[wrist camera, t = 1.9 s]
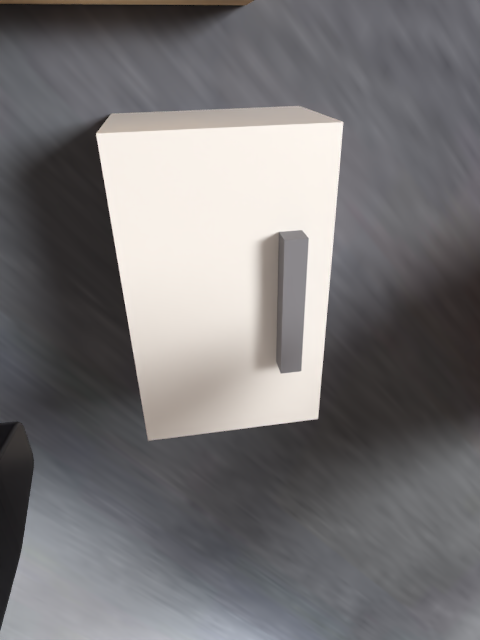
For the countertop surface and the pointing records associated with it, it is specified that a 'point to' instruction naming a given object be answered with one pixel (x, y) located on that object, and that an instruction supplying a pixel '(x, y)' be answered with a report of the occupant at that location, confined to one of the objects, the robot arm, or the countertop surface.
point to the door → (224, 260)
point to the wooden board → (132, 2)
